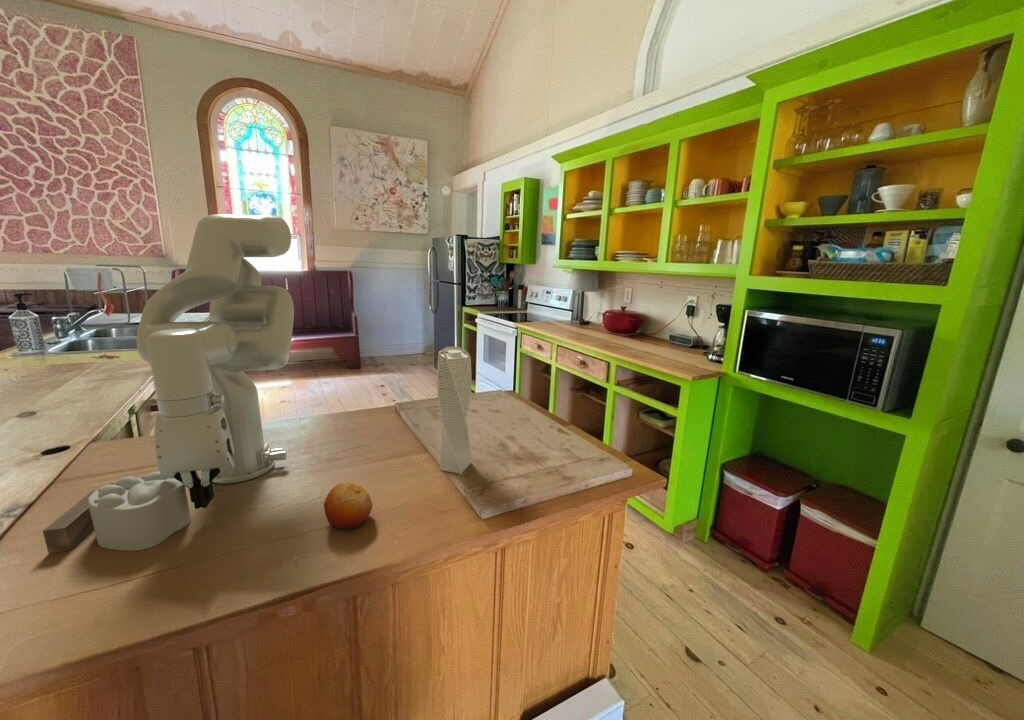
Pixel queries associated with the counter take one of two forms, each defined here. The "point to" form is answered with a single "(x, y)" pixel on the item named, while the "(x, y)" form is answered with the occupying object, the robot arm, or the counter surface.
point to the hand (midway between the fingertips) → (203, 504)
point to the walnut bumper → (69, 527)
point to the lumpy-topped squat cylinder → (138, 511)
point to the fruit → (347, 506)
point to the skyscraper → (454, 407)
